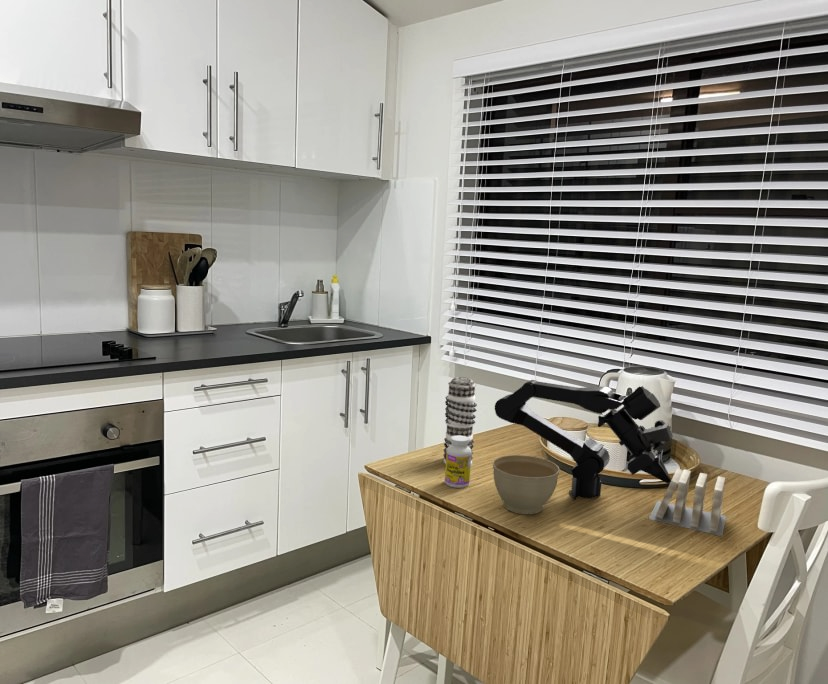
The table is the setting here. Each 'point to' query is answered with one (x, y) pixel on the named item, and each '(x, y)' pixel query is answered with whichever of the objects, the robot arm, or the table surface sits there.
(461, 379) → the decorative candle
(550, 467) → the planter bowl
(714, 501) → the domino
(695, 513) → the domino
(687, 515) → the board
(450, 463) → the supplement bottle
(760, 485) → the table surface
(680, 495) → the domino
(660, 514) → the domino
